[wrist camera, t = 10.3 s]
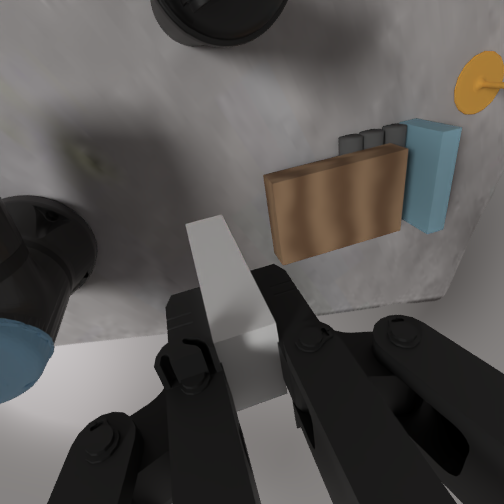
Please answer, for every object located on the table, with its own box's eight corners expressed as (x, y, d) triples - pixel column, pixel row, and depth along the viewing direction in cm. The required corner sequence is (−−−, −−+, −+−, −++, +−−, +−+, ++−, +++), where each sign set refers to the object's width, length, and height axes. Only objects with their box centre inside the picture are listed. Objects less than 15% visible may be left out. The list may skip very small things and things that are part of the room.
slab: (274, 252, 52) (283, 265, 49) (263, 175, 45) (272, 183, 42) (384, 220, 55) (400, 230, 52) (390, 143, 48) (408, 148, 45)
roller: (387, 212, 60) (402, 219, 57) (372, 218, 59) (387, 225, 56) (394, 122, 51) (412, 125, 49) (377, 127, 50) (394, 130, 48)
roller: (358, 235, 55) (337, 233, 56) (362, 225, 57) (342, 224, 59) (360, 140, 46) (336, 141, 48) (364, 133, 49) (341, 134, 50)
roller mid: (353, 224, 58) (368, 218, 59) (368, 231, 56) (382, 224, 57) (354, 133, 50) (371, 128, 51) (371, 136, 47) (389, 130, 48)
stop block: (392, 213, 60) (427, 234, 52) (399, 122, 51) (443, 132, 44) (406, 208, 60) (443, 229, 53) (416, 118, 51) (461, 127, 44)
